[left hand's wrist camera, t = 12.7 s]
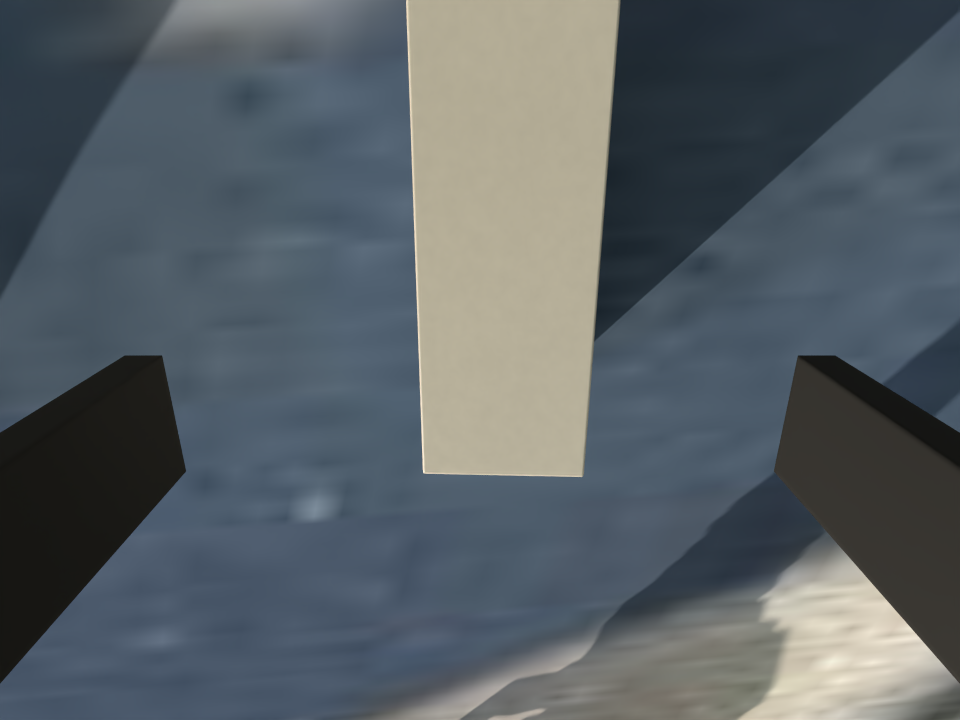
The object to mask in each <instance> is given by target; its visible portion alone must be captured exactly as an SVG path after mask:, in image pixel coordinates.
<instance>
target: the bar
mask: <svg viewBox="0 0 960 720" xmlns="http://www.w3.org/2000/svg"><path fill="white" fill-rule="evenodd" d="M620 1H621V0H406V7H407V35H408V63H409V91H410V119H411V147H412V175H413V202H414V230H415V258H416V286H417V314H418V342H419V370H420V398H421V426H422V454H423V472H424V473H429V474H477V475H525V476H573V477H582V476H583V475H584V463H585V451H586V438H587V425H588V412H589V399H590V386H591V374H592V361H593V348H594V335H595V322H596V309H597V297H598V284H599V271H600V258H601V245H602V232H603V220H604V207H605V194H606V181H607V168H608V155H609V143H610V130H611V117H612V104H613V91H614V78H615V66H616V53H617V40H618V27H619V14H620Z"/></svg>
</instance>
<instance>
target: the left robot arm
mask: <svg viewBox="0 0 960 720" xmlns="http://www.w3.org/2000/svg"><path fill="white" fill-rule="evenodd" d="M185 472H186V469H185V464H184V459H183V454H182V449H181V445H180V440H179V435H178V430H177V425H176V421H175V416H174V411H173V406H172V401H171V396H170V392H169V387H168V382H167V377H166V372H165V368H164V363H163V358H162V356H123V357H122V358H120V359H119V360H117V361H115V362H114V363H112V364H111V365H109V366H107V367H106V368H104V369H102V370H101V371H99V372H98V373H96V374H94V375H93V376H91V377H90V378H88V379H86V380H85V381H83V382H81V383H80V384H78V385H77V386H75V387H73V388H72V389H70V390H69V391H67V392H65V393H64V394H62V395H60V396H59V397H57V398H56V399H54V400H52V401H51V402H49V403H48V404H46V405H44V406H43V407H41V408H39V409H38V410H36V411H35V412H33V413H31V414H30V415H28V416H27V417H25V418H23V419H22V420H20V421H18V422H17V423H15V424H14V425H12V426H10V427H9V428H7V429H6V430H4V431H2V432H1V433H0V683H1V682H2V681H3V680H4V678H5V677H6V676H7V675H8V674H9V673H10V672H11V670H12V669H13V668H14V667H15V666H16V665H17V664H18V662H19V661H20V660H21V659H22V658H23V657H24V656H25V655H26V653H27V652H28V651H29V650H30V649H31V648H32V647H33V645H34V644H35V643H36V642H37V641H38V640H39V639H40V637H41V636H42V635H43V634H44V633H45V632H46V631H47V629H48V628H49V627H50V626H51V625H52V624H53V623H54V621H55V620H56V619H57V618H58V617H59V616H60V615H61V613H62V612H63V611H64V610H65V609H66V608H67V607H68V605H69V604H70V603H71V602H72V601H73V600H74V599H75V597H76V596H77V595H78V594H79V593H80V592H81V591H82V589H83V588H84V587H85V586H86V585H87V584H88V583H89V581H90V580H91V579H92V578H93V577H94V576H95V575H96V573H97V572H98V571H99V570H100V569H101V568H102V567H103V565H104V564H105V563H106V562H107V561H108V560H109V559H110V557H111V556H112V555H113V554H114V553H115V552H116V551H117V549H118V548H119V547H120V546H121V545H122V544H123V543H124V541H125V540H126V539H127V538H128V537H129V536H130V535H131V533H132V532H133V531H134V530H135V529H136V528H137V527H138V526H139V524H140V523H141V522H142V521H143V520H144V519H145V518H146V516H147V515H148V514H149V513H150V512H151V511H152V510H153V508H154V507H155V506H156V505H157V504H158V503H159V502H160V500H161V499H162V498H163V497H164V496H165V495H166V494H167V492H168V491H169V490H170V489H171V488H172V487H173V486H174V484H175V483H176V482H177V481H178V480H179V479H180V478H181V476H182V475H183V474H184V473H185ZM774 472H775V473H776V474H777V475H778V476H779V478H780V479H781V480H782V481H783V482H784V483H785V484H786V486H787V487H788V488H789V489H790V490H791V491H792V492H793V494H794V495H795V496H796V497H797V498H798V499H799V500H800V502H801V503H802V504H803V505H804V506H805V507H806V508H807V510H808V511H809V512H810V513H811V514H812V515H813V516H814V518H815V519H816V520H817V521H818V522H819V523H820V524H821V526H822V527H823V528H824V529H825V530H826V531H827V532H828V534H829V535H830V536H831V537H832V538H833V539H834V540H835V541H836V543H837V544H838V545H839V546H840V547H841V548H842V549H843V551H844V552H845V553H846V554H847V555H848V556H849V557H850V559H851V560H852V561H853V562H854V563H855V564H856V565H857V567H858V568H859V569H860V570H861V571H862V572H863V573H864V575H865V576H866V577H867V578H868V579H869V580H870V581H871V583H872V584H873V585H874V586H875V587H876V588H877V589H878V591H879V592H880V593H881V594H882V595H883V596H884V597H885V599H886V600H887V601H888V602H889V603H890V604H891V605H892V607H893V608H894V609H895V610H896V611H897V612H898V613H899V615H900V616H901V617H902V618H903V619H904V620H905V621H906V623H907V624H908V625H909V626H910V627H911V628H912V629H913V631H914V632H915V633H916V634H917V635H918V636H919V637H920V639H921V640H922V641H923V642H924V643H925V644H926V645H927V647H928V648H929V649H930V650H931V651H932V652H933V653H934V655H935V656H936V657H937V658H938V659H939V660H940V661H941V662H942V664H943V665H944V666H945V667H946V668H947V669H948V670H949V672H950V673H951V674H952V675H953V676H954V677H955V678H956V680H957V681H958V682H959V683H960V433H959V432H958V431H956V430H954V429H953V428H951V427H950V426H948V425H946V424H945V423H943V422H942V421H940V420H938V419H937V418H935V417H933V416H932V415H930V414H929V413H927V412H925V411H924V410H922V409H921V408H919V407H917V406H916V405H914V404H912V403H911V402H909V401H908V400H906V399H904V398H903V397H901V396H900V395H898V394H896V393H895V392H893V391H891V390H890V389H888V388H887V387H885V386H883V385H882V384H880V383H879V382H877V381H875V380H874V379H872V378H870V377H869V376H867V375H866V374H864V373H862V372H861V371H859V370H858V369H856V368H854V367H853V366H851V365H849V364H848V363H846V362H845V361H843V360H841V359H840V358H838V357H837V356H798V358H797V363H796V368H795V372H794V377H793V382H792V387H791V392H790V396H789V401H788V406H787V411H786V416H785V421H784V425H783V430H782V435H781V440H780V445H779V449H778V454H777V459H776V464H775V469H774Z"/></svg>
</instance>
